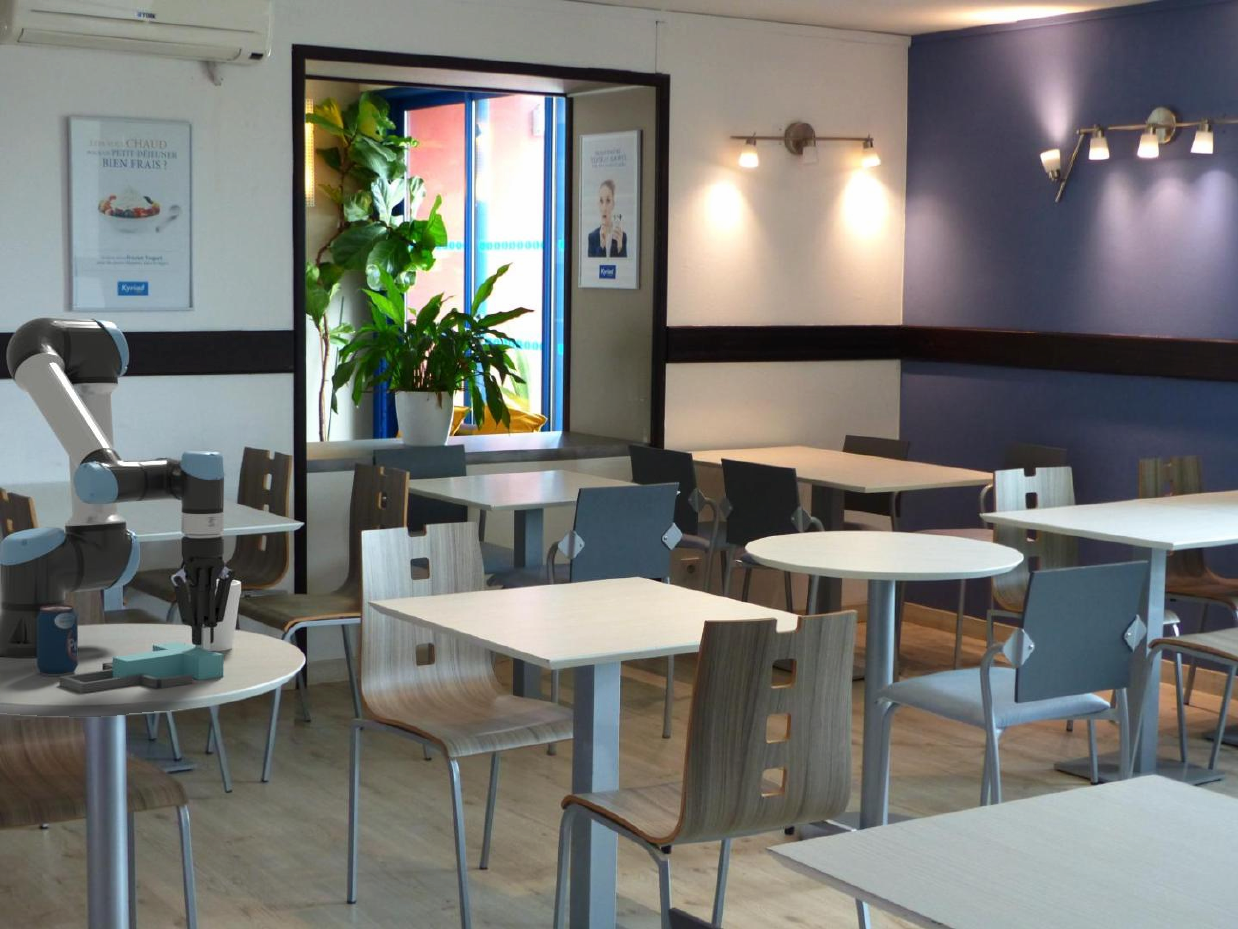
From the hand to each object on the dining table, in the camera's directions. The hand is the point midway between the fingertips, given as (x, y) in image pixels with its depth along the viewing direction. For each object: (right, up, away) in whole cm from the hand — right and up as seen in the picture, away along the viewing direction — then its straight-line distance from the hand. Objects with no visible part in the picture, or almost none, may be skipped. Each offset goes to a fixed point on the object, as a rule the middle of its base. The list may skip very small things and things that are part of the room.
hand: (202, 661), depth 286 cm
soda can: (-25, -2, -6) cm, 26 cm away
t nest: (-11, -2, -12) cm, 16 cm away
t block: (-6, -2, -6) cm, 9 cm away
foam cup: (-3, 0, +20) cm, 20 cm away
